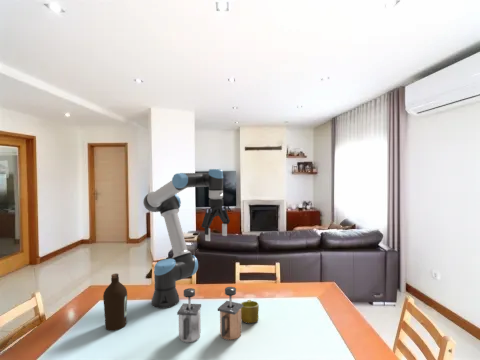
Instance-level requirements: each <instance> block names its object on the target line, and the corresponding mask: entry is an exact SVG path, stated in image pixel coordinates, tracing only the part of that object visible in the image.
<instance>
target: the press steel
mask: <svg viewBox="0 0 480 360" xmlns="http://www.w3.org/2000/svg"><path fill="white" fill-rule="evenodd" d="M201 308H202V303H191V310H188V303H182V304H181V306H180V307H179V309H178V310H177V312H176V313H177V314H176V315H177V316H178V337H179V340H180V341H181V342H183V343H186V344H187V343H189V344H190V343H194V342H197V341H198V340H199V339H200V338H201V334H202V333H201V331H202V329H201V321H202V320H201Z"/></svg>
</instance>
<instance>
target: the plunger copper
mask: <svg viewBox="0 0 480 360" xmlns="http://www.w3.org/2000/svg"><path fill="white" fill-rule="evenodd" d="M224 294H225V295H226V296H228V297H229V299H228V301H229V308H232V302H233V300H232V298H233V297H232V296H236V294H237V288H236V287H235V286H227V287H225V288H224Z"/></svg>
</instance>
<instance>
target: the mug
mask: <svg viewBox="0 0 480 360" xmlns="http://www.w3.org/2000/svg"><path fill="white" fill-rule="evenodd" d="M240 304H243V307H242V308H241V322H243V323H244V324H245V323H246V324H253V323H254V324H255V323H257V322H258V321H259V319H260V318H259V310H260V309H259V308H260V307H259V306H260V305H259V303H258V302H257V301H255V300H251V299H247V301H243V302H240Z"/></svg>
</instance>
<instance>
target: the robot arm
mask: <svg viewBox="0 0 480 360" xmlns="http://www.w3.org/2000/svg"><path fill="white" fill-rule="evenodd" d="M223 172H224V171H223V169H221V168H219V169H218V168H215V169H214V168H213V169H212V168H210V169H208V172H180V173H179V172H178V173H175V174H173V176H172V178H171V180H169V181H168V182H167V183H166V184H164V185H163V186H161V187H159V188H158V189H156V190H154V191H150V192H149V193H148V194H146V195H145V196H144V197H143V200H142V201H143V206H144V208H145V210H147V211H148V212H152V213H158V212H159V213H160V216H161V217H163V219H164V223H165V227H166V230H167V233H168V237H169V241H170V245H171V249H172V253H173V256H172V257H171V258H164V259H161V260H159V261H157V262H156V263H155V264H154V268H153V269H154V270H153V275H154V276H153V277H154V282H153V283H154V291H153V294H152V298H151V306H152V307H153V308H157V309H168V308H171V307H172V308H173V307H174V306H176V305H178V304H179V303H180V296H179V293H178V290H177V288H176V287H177V282H178V281H180V280H183V279H187V278H190V277H192V276H194V275H196V273H197V271H198V269H199V261H198V258H197V257H196V256H195V255H194V254H193V255H192V251H190V250H188V247H187V243H186V240H185V236H184V233H183V227H182V224H181V221H180V218H179V214H178V213H179V212H180V207H181V204H182V201H181V198H180V196H179V193H180V192H182V191H184V190H185V189H187V188H199V187H201V188H202V187H203V188H204V187H205V188H206V187H208V198H209V199H208V206H209V208H205V212H204V213H205V214H204V216H203V220H202V224H201V228H203V229H204V235H205V236H204V237H205V239H204V240H205V242H211V228H210V227H211V225H212V222H213V220H214V219H215V218H216V217H219V219H220V220H221V222H222V224H221V232H222V233H221V235H222V236H223V237H227V236H228V225H229V224H230V221H231V220H230V218H229V217H230V216H229V215H228V212H227V207H226V206H225V205H224V199H223V198H224V173H223Z"/></svg>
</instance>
